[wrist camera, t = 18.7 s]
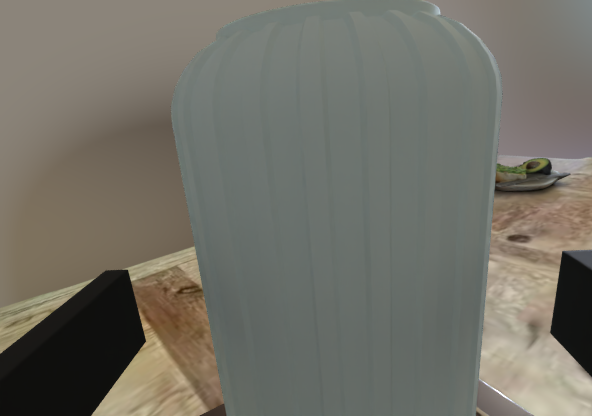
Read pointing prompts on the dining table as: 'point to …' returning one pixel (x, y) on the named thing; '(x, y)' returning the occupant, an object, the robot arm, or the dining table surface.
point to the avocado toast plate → (527, 176)
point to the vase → (342, 206)
